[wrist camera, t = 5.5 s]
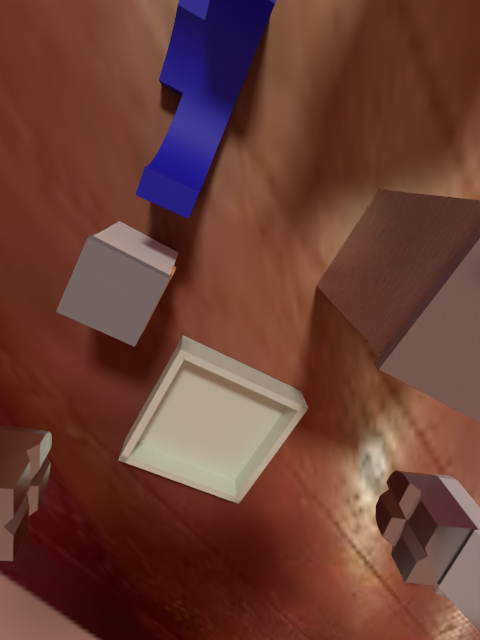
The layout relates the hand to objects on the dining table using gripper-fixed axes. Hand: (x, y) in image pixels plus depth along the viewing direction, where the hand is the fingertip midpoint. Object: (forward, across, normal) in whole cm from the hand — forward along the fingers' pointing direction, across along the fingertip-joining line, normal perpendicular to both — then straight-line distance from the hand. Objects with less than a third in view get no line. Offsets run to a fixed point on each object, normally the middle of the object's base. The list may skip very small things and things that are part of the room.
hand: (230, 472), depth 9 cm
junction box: (+20, -13, -3) cm, 24 cm away
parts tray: (+20, -3, +13) cm, 24 cm away
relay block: (+20, +5, +1) cm, 21 cm away
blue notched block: (+21, +3, -10) cm, 23 cm away
